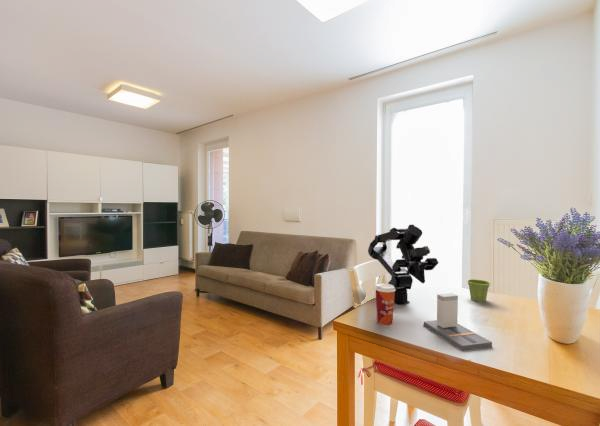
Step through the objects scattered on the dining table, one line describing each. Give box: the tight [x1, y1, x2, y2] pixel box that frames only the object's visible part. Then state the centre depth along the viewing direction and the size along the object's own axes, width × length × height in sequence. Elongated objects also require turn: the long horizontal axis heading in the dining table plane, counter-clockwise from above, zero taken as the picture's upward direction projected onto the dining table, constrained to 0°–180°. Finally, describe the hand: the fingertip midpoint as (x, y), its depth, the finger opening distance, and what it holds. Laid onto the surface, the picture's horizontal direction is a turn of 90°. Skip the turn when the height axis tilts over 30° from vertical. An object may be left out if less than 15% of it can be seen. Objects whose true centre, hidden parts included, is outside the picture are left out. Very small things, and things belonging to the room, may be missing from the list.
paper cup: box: [374, 283, 396, 326], centre depth 113 cm, size 8×8×14 cm
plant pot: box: [466, 278, 491, 303], centre depth 138 cm, size 9×9×9 cm
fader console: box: [423, 319, 493, 352], centre depth 101 cm, size 19×11×2 cm, turn 13°
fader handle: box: [436, 292, 459, 328], centre depth 105 cm, size 3×6×11 cm, turn 103°
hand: (423, 282), depth 118 cm, fingers closed
